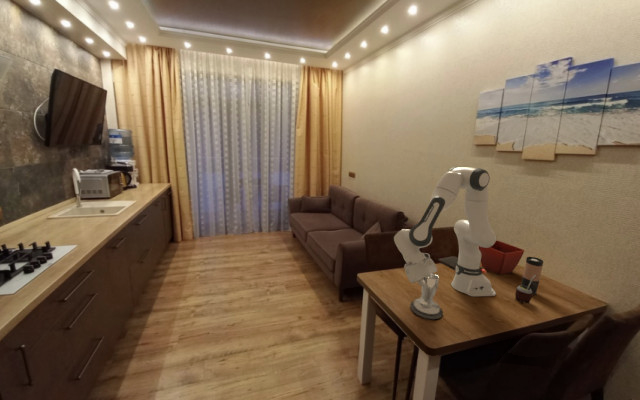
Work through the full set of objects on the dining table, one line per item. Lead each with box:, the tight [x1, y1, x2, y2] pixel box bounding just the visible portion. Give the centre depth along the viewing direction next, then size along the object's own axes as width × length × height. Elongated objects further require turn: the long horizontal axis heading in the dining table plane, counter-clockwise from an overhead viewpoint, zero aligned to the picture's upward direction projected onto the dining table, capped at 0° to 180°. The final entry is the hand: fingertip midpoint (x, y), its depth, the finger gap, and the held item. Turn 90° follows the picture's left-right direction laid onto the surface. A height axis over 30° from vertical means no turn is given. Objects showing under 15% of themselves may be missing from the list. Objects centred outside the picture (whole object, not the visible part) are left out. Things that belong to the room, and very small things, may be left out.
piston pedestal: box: [409, 297, 444, 321], centre depth 132 cm, size 15×15×3 cm
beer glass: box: [419, 273, 440, 307], centre depth 130 cm, size 7×7×15 cm
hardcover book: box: [437, 255, 458, 271], centre depth 185 cm, size 16×23×2 cm
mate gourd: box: [514, 275, 536, 305], centre depth 143 cm, size 8×8×15 cm
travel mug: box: [520, 256, 544, 296], centre depth 153 cm, size 8×8×20 cm
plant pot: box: [478, 239, 525, 276], centre depth 181 cm, size 19×19×17 cm
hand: (430, 286), depth 129 cm, fingers closed on beer glass, 7 cm apart
